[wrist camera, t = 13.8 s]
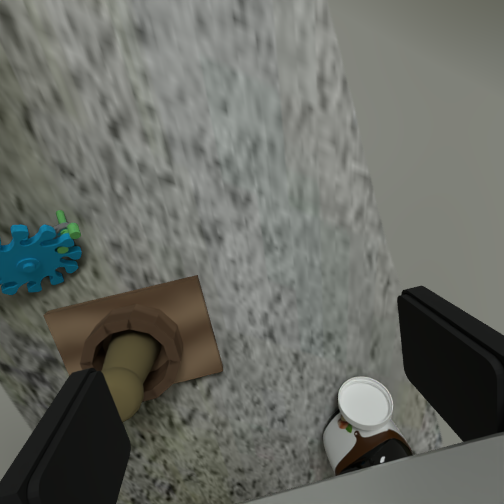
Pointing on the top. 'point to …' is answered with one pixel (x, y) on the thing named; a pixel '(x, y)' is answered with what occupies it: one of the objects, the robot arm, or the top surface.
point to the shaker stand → (144, 320)
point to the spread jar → (363, 428)
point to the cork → (129, 368)
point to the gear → (38, 255)
